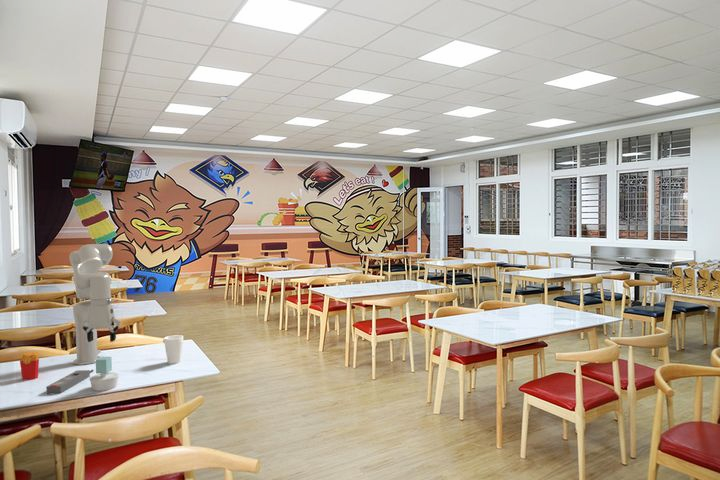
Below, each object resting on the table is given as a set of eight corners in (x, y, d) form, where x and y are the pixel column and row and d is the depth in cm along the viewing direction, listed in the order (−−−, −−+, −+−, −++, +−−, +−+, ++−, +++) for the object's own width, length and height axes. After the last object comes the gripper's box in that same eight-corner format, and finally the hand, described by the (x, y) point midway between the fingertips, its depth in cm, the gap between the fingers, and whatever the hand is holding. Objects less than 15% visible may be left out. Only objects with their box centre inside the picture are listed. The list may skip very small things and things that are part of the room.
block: (101, 374, 210) (101, 356, 210) (112, 374, 210) (111, 356, 210) (96, 378, 206) (95, 359, 205) (106, 377, 206) (106, 359, 205)
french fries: (18, 379, 221) (17, 354, 220) (25, 376, 225) (24, 351, 224) (36, 379, 220) (34, 354, 220) (42, 377, 224) (41, 351, 224)
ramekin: (112, 381, 216) (111, 370, 216) (123, 386, 209) (123, 375, 209) (85, 388, 208) (85, 376, 207) (96, 394, 201) (96, 382, 200)
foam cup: (183, 363, 242) (183, 338, 242) (164, 365, 239) (163, 340, 239) (184, 358, 251) (183, 334, 251) (165, 360, 248) (164, 336, 248)
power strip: (86, 371, 232) (86, 364, 232) (98, 371, 232) (98, 363, 232) (46, 393, 202) (46, 385, 202) (60, 393, 202) (60, 385, 202)
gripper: (124, 300, 211) (125, 338, 212) (85, 301, 211) (86, 339, 212) (115, 303, 204) (117, 343, 204) (75, 304, 203) (76, 343, 204)
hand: (101, 341), depth 208 cm, fingers open, 9 cm apart
